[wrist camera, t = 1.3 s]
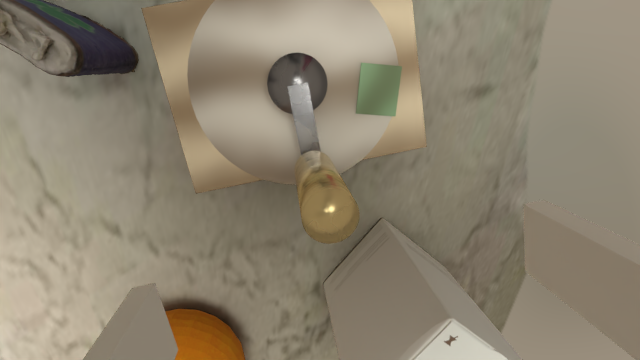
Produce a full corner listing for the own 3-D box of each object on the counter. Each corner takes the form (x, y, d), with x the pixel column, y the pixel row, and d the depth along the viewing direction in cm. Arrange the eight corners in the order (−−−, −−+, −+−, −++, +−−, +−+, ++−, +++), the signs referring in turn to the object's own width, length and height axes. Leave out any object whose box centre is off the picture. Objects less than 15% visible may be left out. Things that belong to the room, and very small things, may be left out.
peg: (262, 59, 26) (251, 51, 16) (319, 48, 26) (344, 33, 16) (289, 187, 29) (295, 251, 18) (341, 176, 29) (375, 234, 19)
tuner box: (155, 2, 28) (135, -10, 24) (389, -39, 29) (407, -57, 25) (208, 190, 32) (198, 206, 28) (410, 149, 33) (428, 159, 29)
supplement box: (319, 283, 36) (345, 423, 22) (381, 214, 35) (453, 315, 20) (386, 330, 38) (450, 485, 24) (447, 268, 37) (553, 391, 23)
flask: (7, 22, 27) (-155, -8, 17) (18, -17, 27) (-141, -72, 17) (132, 81, 29) (55, 86, 19) (146, 46, 29) (73, 31, 19)
